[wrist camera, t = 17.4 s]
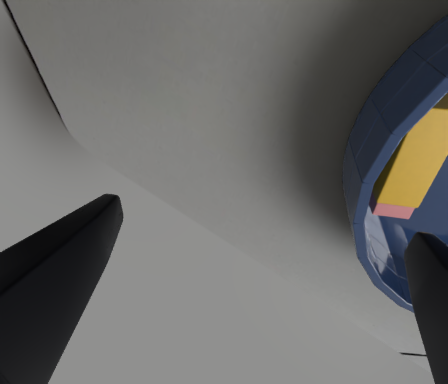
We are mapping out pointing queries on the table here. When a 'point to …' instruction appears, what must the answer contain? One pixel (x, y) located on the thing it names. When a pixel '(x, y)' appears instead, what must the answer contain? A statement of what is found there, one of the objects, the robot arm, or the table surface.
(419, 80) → the bowl
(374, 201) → the pencil
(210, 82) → the table surface
